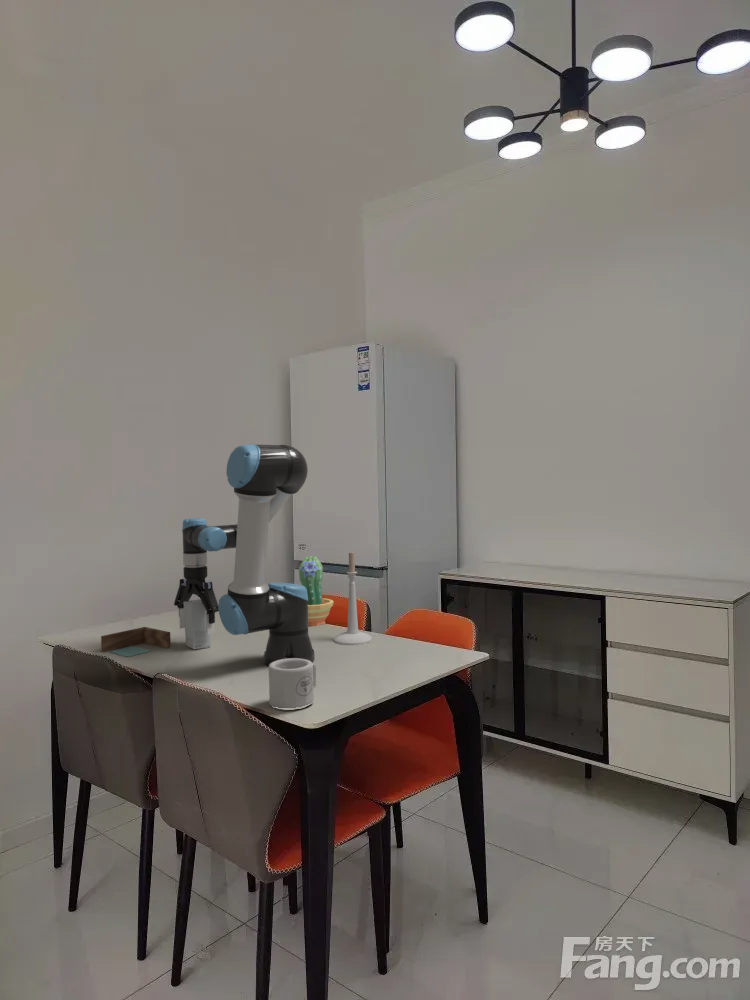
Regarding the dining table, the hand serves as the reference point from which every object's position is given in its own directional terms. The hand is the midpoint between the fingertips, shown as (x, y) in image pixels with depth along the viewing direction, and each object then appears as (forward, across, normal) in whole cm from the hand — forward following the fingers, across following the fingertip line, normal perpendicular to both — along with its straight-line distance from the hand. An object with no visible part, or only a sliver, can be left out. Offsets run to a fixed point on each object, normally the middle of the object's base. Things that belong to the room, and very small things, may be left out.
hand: (196, 630), depth 226 cm
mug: (+5, -65, +21) cm, 69 cm away
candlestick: (+5, -37, -35) cm, 51 cm away
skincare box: (+5, 0, 0) cm, 5 cm away
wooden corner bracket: (+5, +13, +14) cm, 20 cm away
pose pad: (+5, +12, +17) cm, 21 cm away
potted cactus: (+5, -8, -47) cm, 48 cm away
